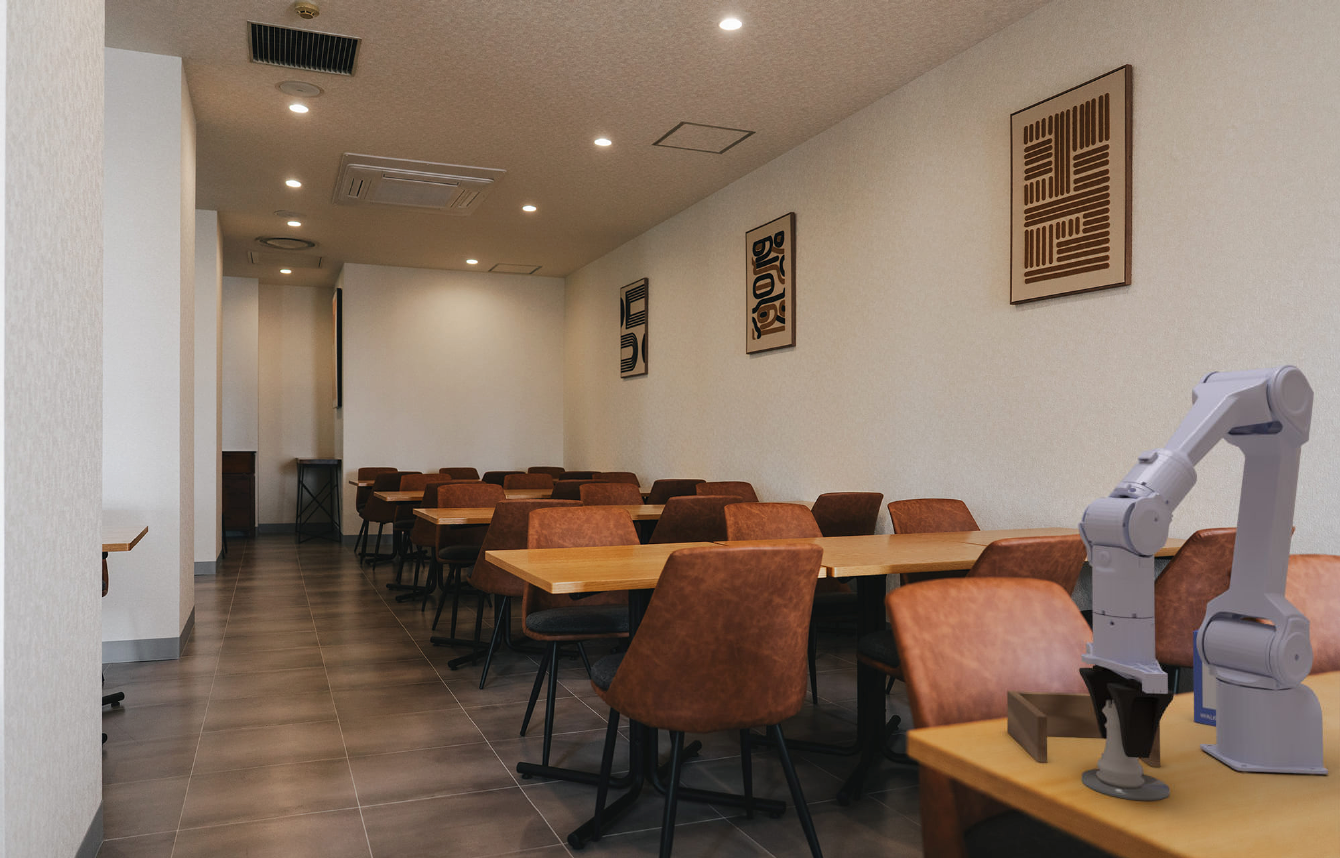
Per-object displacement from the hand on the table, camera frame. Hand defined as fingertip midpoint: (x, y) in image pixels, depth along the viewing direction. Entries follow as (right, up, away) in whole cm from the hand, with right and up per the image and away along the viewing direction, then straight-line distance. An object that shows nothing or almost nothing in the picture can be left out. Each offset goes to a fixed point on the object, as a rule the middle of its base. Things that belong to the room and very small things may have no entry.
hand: (1124, 747), depth 90 cm
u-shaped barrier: (+1, -4, +12) cm, 13 cm away
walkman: (+25, -5, +21) cm, 33 cm away
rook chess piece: (0, -4, 0) cm, 4 cm away
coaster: (0, -4, 0) cm, 4 cm away
